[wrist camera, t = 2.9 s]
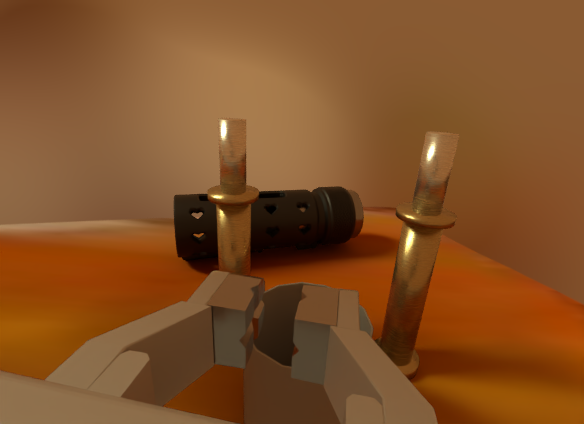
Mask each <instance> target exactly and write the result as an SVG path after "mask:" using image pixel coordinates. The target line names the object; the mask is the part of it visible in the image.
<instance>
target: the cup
mask: <svg viewBox="0 0 584 424" xmlns="http://www.w3.org/2000/svg"><path fill="white" fill-rule="evenodd" d="M303 285H311V286H319V287H327V288H330V287H328V286H326V285H318V284H311V283H303V282H300V283H292V284H284V285H278V286H276V287H274V288H271V289H269V290H267V291H265V292H264V294H263V297H262V299H261V300H262V301H263V303H264V304H265V305H264V318H263V323H262V327H261V331H260V334H259V336H258V338H256V339H255V340H253V351H252V354H251V356H250V359H249V361H248V364H247V366H246V369H244V424H341V423H340V421H339V419H338V417H337V415H336V412H335V410H334V408H333V406H332V404H331V402H330V400H329V397H328V395H327V393H326V391H325V389H324V385H322V384H317V383H313V382H308V381H304V380H299V379H295V378H291V368H292V355H293V351H294V346H295V344H294V343H293V336H294V322H295V316H296V312H297V308H298V304H299V301H301V296H302V289H303ZM359 318H360V331H365V332H367V334H368V335H369V336H370V337H371V338H372V334H373V326H372V324H371V322H370V320H369V317H368V315H367V313H366V311H365V309H364V308H363V307H362V306H360V305H359Z"/></svg>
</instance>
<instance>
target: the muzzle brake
mask: <svg viewBox="0 0 584 424" xmlns="http://www.w3.org/2000/svg"><path fill="white" fill-rule="evenodd" d="M199 212H202V213H203V215H202V216H201V217H200V218H199V219H196V218H195V217H193V216H192V215H191V214H192V213H199ZM363 218H364V217H363V207H362V203H361V200H360V198H359V196H358V194H357V193H356V192H355V191H352V190H346V189H344V188H342V187H318V188H317V189H314V190H313V191H312V192H310V191H308V190H285V191H261V192H259V199H258V200H257V201H256V202H254V203H251V252H255V251H258V252H259V253H260V252H262V251H263V249H270V248H280V247H290V246H295V247H296V248H297V250H301V249H310V248H316V247H317V244H322V245H328V244H338V243H345V242H346V241H348V240H349V239H350V238H355V237H356V236H358V235H359V233H360V232H361V229H362V226H363ZM174 225H175V239H176V248H177V254H178V257H182V259H183V260H191V259H201V258H211V257H218V235H217V209H216V204H214V203H212V202H210V201H209V200H208V194H190V195H175V196H174ZM201 233H204V234H203V235H202V236H201V237H200V238H198V237H196V236H194V235H193V234H201Z"/></svg>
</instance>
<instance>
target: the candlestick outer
mask: <svg viewBox="0 0 584 424" xmlns="http://www.w3.org/2000/svg"><path fill="white" fill-rule="evenodd" d="M458 139H459V135H458V134H452V133H444V132H426V137H425V142H424V147H423V152H422V157H421V162H420V167H419V172H418V177H417V183H416V187H415V192H414V197H413V202H405V203H401V204H399V205H398V206H397V209H396V216H397V217H398V218H399V219H400V220H402V221H403V226H402V231H401V237H400V242H399V247H398V252H397V257H396V263H395V268H394V273H393V278H392V283H391V289H390V294H389V299H388V304H387V309H386V315H385V320H384V325H383V330H382V335H381V338H378V339H376V340H375V343H376V344H377V345H378V346H379V347H380V348H381V349H382V350H383V352H384V353H385V354H386V355H387V356H388V357H389V358H390V359H391V361H392V362H393V363H394V364H395V365H396V366H397V367H398V369H399V370H400V371H401V372H402V373H403V374H404V375H405V376H406V378H407V379H408V380H410V379H412V378H413V377H414V376H415V375H416V373H417V370H418V366H419V356H418V354H417V352H416V351H415V350H414V347H415V342H416V338H417V334H418V330H419V326H420V322H421V318H422V314H423V310H424V305H425V301H426V297H427V293H428V289H429V285H430V281H431V277H432V273H433V268H434V264H435V260H436V256H437V252H438V248H439V244H440V240H441V236H442V232H443V229H448V228H451V227H453V226H454V225H455V221H456V217H457V216H456V215H455V213H453V212H452V211H450V210H448V209H446V208H443V203H444V199H445V194H446V190H447V186H448V182H449V177H450V173H451V169H452V165H453V161H454V156H455V152H456V148H457V144H458Z"/></svg>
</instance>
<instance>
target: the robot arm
mask: <svg viewBox="0 0 584 424" xmlns="http://www.w3.org/2000/svg"><path fill="white" fill-rule="evenodd" d="M264 292H265V281H264V278H259V277H253V276H247V275H241V274H235V273H230V272H223V271H212V272H211V273H210V274H209V276H208V277H207V278H206V279H205V280H204V282H203V283H202V284H201V285H200V286H199V288H198V289H197V290H196V291H195V292H194V294H193V295H192V296H191V297H190V298H189V300H188V301H187V302H184V301H181V302H178V303H176V304H174V305H171V306H169V307H166V308H164V309H162V310H159V311H157V312H154V313H152V314H150V315H147V316H145V317H143V318H140V319H138V320H135V321H133V322H131V323H128V324H126V325H123V326H121V327H119V328H116V329H114V330H111V331H109V332H107V333H104V334H102V335H100V336H97V337H95V338H92V339H90V340H88V341H87V342H86V343H85V344H84V345H82V346H81V347H80V348H79V349H78V350H77V351H76V352H75V353H74V354H72V355H71V356H70V357H69V358H68V359H67V360H66V361H65V362H64V363H62V364H61V365H60V366H59V367H58V368H57V369H56V370H55V371H54V372H53V373H51V374H50V375H49V376H48V377H47V378H46V379H45V380H41V379H36V378H32V377H27V376H23V375H18V374H14V373H9V372H5V371H0V424H239V423H234V422H230V421H225V420H221V419H216V418H212V417H207V416H203V415H198V414H194V413H189V412H185V411H180V410H176V409H171V408H167V407H162V406H163V405H165V404H166V403H167V402H169V401H170V400H171V399H172V398H174V397H175V396H176V395H177V394H179V393H180V392H181V391H183V390H184V389H185V388H186V387H188V386H189V385H190V384H191V383H193V382H194V381H195V380H197V379H198V378H199V377H200V376H202V375H203V374H204V373H205V372H207V371H208V370H209V369H211V368H212V367H213V366H214V364H219V365H225V366H231V367H238V368H244V369H246V366H247V364H248V361H249V359H250V356H251V354H252V351H253V340H255V339H256V338H258V336H259V334H260V331H261V327H262V323H263V318H264V305H265V304H264V303H263V301H262V300H261V299H262V297H263V294H264ZM293 343H294V344H295V346H294V351H293V355H292V368H291V378H295V379H299V380H304V381H308V382H313V383H317V384H322V385H324V389H325V391H326V393H327V395H328V397H329V400H330V402H331V404H332V406H333V408H334V410H335V412H336V415H337V417H338V419H339V421H340V423H341V424H438V422H437V418H436V415H435V411H434V408H433V407H432V406H431V405H430V403H429V402H428V401H427V400H426V399H425V398H424V397H423V396H422V394H421V393H420V392H419V391H418V390H417V389H416V388H415V387H414V385H413V384H412V383H411V382H410V381H409V380H408V379H407V378H406V376H405V375H404V374H403V373H402V372H401V371H400V370H399V369H398V367H397V366H396V365H395V364H394V363H393V362H392V361H391V359H390V358H389V357H388V356H387V355H386V354H385V353H384V352H383V350H382V349H381V348H380V347H379V346H378V345H377V344H376V343H375V341H374V340H373V339H372V338H371V337H370V336H369V335H368V334H367V332H365V331H360V318H359V293H358V291H355V290H346V289H335V288H327V287H319V286H311V285H303V289H302V296H301V301H299V304H298V308H297V312H296V316H295V322H294V336H293Z"/></svg>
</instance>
